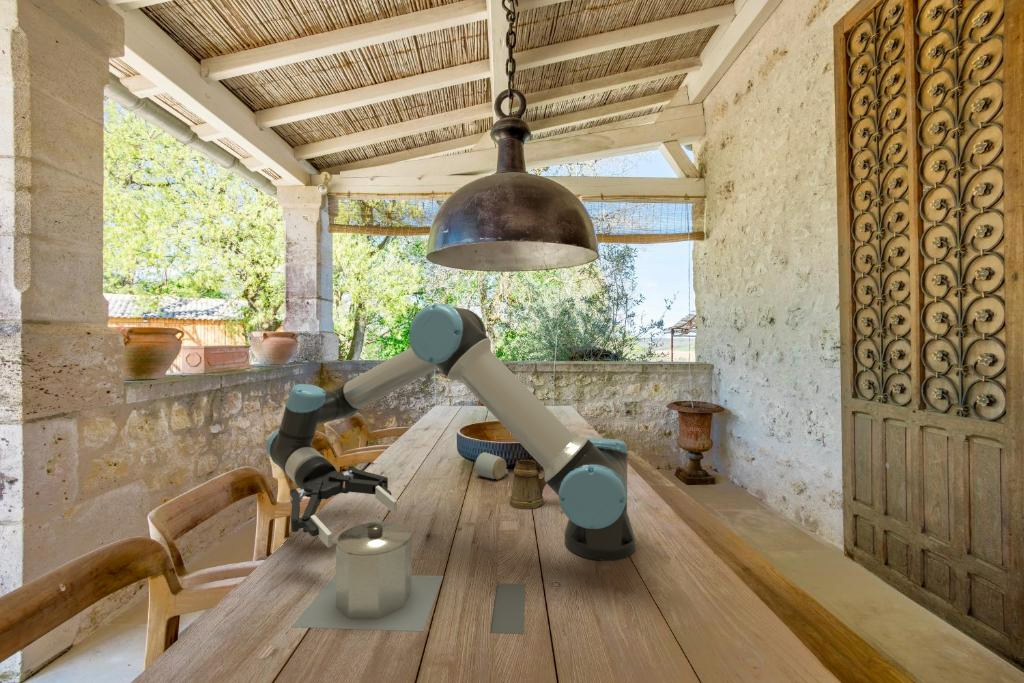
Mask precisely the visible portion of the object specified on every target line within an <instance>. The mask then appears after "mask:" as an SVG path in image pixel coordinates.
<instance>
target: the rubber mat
mask: <svg viewBox="0 0 1024 683" xmlns="http://www.w3.org/2000/svg"><path fill="white" fill-rule="evenodd" d="M495 588H496V589H495V595H494V601H493V609H492V610H493V611H492V617H491V623H490V624H491V625H490V631H489V633H490V634H508V635H509V634H511V635H524V634H525V633H524V632H525V605H526V604H525V602H526V598H525V597H526V596H525V595H526V583H508V582H507V583H504V582H501V583H498V582H497V583H496V587H495Z"/></svg>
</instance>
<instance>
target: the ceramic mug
mask: <svg viewBox="0 0 1024 683" xmlns="http://www.w3.org/2000/svg"><path fill="white" fill-rule="evenodd" d="M507 467H508V466H507V462H506V460H505V459H504V458H503V457H501V456H498V455H494V454H493V453H488V452H485V451H484V452H482V453H480V454H479V455H478V456H477V458H476V460H475V463H474V470H475V473H476V475H478V476H479V477H483V478H487V479H491V480H494V479H496V481H498V480H500V479H502V478H503V477H504V476H505V475H507V474H508V473H509V472H508V471H509V469H507Z"/></svg>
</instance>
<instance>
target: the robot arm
mask: <svg viewBox="0 0 1024 683" xmlns="http://www.w3.org/2000/svg"><path fill="white" fill-rule="evenodd" d="M408 331H409V333H408V334H409V335H408V336H409V337H408V340H409V346H410V347H409V348H407V349H405V350H404V351H401V352H399V353H397V354H396V355H395V356H392V357H391V358H389V359H386V360H385V361H383V362H382V363H381V362H380V363H379V364H378V365H376V366H374V367H372V368H371V369H368V370H367V371H365V372H363V373H361V374H360V375H358V376H356V377H354V378H353V379H351V380H349V381H347V382H345V383H344V384H342V385H340V386H337V387H336V388H334V389H331V390H325V389H323V388H322V387H319V386H318V385H314V384H309V383H307V384H306V383H305V384H304V383H297V384H295V385H293V386H292V388H291V389H290V392H289V395H288V398H287V400H286V401H285V407H284V412H283V415H282V416H283V417H282V419H281V423H280V428H279V429H277V430H276V431H274V432H273V433H272V435H271V436H270V437H269V438H268V439H267V441H266V446H265V447H266V452H267V454H268V456H269V457H270V459H271V460H272V462H273V463H274V464H275V465H277V466H278V467H279V468H280V470H283V472H284V473H285V474H286V475H287V476H288V477H289V479H291V480H292V481H293V482H294V483H295V485H296V487H298V488H299V489H300V490H297V489H296V488H292V489H290V490H289V498H290V499H289V500H290V501H289V502H290V503H291V510H290V511H291V512H290V528H291V529H290V530H291V532H292V533H296V532H297V531H299V529H302V532H303V533H305V534H306V533H308V534H309V536H310V537H313V538H315V537H318V538H319V539H320V541H321V542H322V543H323V544H324V545H325V546H326V547H327V548H331V547H332V546H333V534H332V532H331V531H330V530H329V529H328V528H327V526H325V524H324V523H323V521H321V520H320V519H319V518H318V516H316V512H317V509H318V507H320V504H321V503H322V500H328V499H330V498H332V497H333V496H337V495H339V494H349V493H357V494H365V495H366V494H367V495H375V499H376V500H377V501H378V502H380V503H381V504H382V505H383V507H386V509H388V510H389V511H390V512H391V513H392V514H393V515H394V514H396V513H397V512H398V500H397V499H396V498H394V496H392V492H391V491H390V489H389V486H388V485H389V483H388V482H389V478H388V477H387V476H384V475H380V474H377V473H372V472H368V471H366V470H361V469H359V468H356V467H355V466H353V465H349V466H348V467H347V470H346V471H344V472H341V471H338V470H337V469H336V467H335V466H334V465H333V464H332V463H331V462H330V461H329V460H328V459H326V458H325V456H324V455H322V454H321V453H320V452H319V451H318V450H317V449H315V448H314V446H313V444H312V443H313V441H314V438H315V435H316V431H317V428H318V425H323V424H326V423H330V422H333V421H337V420H341V419H342V420H343V419H347V418H350V417H352V416H354V415H357V414H358V412H360V410H361V409H362V408H365V407H366V406H369V405H371V404H373V403H374V402H376V401H378V400H380V399H381V398H384V397H385V396H387V395H389V394H392V393H394V392H395V391H397V390H399V389H401V388H404V387H406V386H407V385H409V384H410V383H413V382H415V381H416V380H419V379H420V378H422V377H424V376H426V375H428V374H430V373H432V372H433V371H435V370H438V369H439V370H440V372H442V373H443V374H444V375H445V377H446V378H447V379H448V380H450V381H451V380H452V381H460V382H461V383H462V384H463V385H464V386H465V387H466V388H467V389H468V390H469V391H470V392H471V393H472V394H473V395H474V396H475V398H476V399H478V401H479V402H480V403H481V404H482V405H483V406H484V407H485V408H486V409H487V410H488V411H489V412H490V413H491V415H492V416H493V417H494V418H496V419H497V421H498V422H499V423H500V424H501V425H502V426H503V427H504V428H505V429H506V430H507V431H508V433H509V434H511V436H513V438H514V439H515V440H516V441H517V442H518V443H519V444H520V445H521V446H522V447H523V448H524V449H525V450H526V451H527V452H528V454H529V455H530V456H531V457H533V459H534V461H535V462H536V461H537V462H538V463H539V464H540V465H541V466H542V467H543V468H544V471H543V472H544V475H543V477H544V480H545V482H546V483H547V484H546V485H548V487H550V489H552V491H553V492H554V493H555V494H556V495H557V496H558V502H559V505H560V508H561V510H562V512H563V514H564V515H565V517H567V518H568V521H567V523H566V526H565V529H564V530H565V531H564V545H565V547H566V548H567V549H568V550H569V551H571V552H572V553H574V554H576V555H578V556H580V557H583V558H586V559H590V560H596V561H597V560H598V561H616V560H617V561H618V560H622V559H625V558H627V557H630V556H632V555H633V554H634V552H635V551H636V537H635V536H636V535H635V533H634V529H633V526H632V523H631V520H630V517H629V513H628V457H629V452H628V444H627V443H626V442H625V441H624V440H620V439H619V440H618V439H615V438H614V439H613V438H600V437H578V436H575V435H574V434H573V433H572V432H571V431H570V430H569V429H568V428H567V427H566V426H565V425H564V424H563V422H561V421H560V420H559V419H558V418H557V416H555V415H554V414H553V413H552V411H551V410H550V409H548V407H546V405H545V404H543V402H542V401H540V399H539V398H538V397H537V396H536V395H535V394H534V393H533V392H532V391H531V390H530V389H529V388H528V387H527V386H526V385H524V383H523V381H521V380H520V379H519V378H518V377H517V376H516V375H515V374H514V373H513V372H512V371H511V370H510V369H509V367H507V366H506V364H505V363H503V361H501V360H500V359H499V358H498V357H497V355H495V353H494V352H493V351H492V349H491V348H492V347H491V346H492V342H491V339H490V338H489V337H488V336H487V330H486V326H485V323H484V322H483V320H482V318H481V317H480V316H479V315H478V314H477V313H475V312H474V311H473V310H470V309H466V308H462V307H457V306H456V307H455V306H451V305H449V304H445V303H437V304H431V305H428V306H426V307H423V308H422V309H421V310H419V311H418V312H417V313H416V315H414V317H413V319H412V321H411V322H410V325H409V330H408ZM304 497H306V498H309V501H308V503H307V505H306V507H305V509H304V512H303V513H302V516H301V517H300V510H301V506H300V505H301V503H302V500H303V498H304Z"/></svg>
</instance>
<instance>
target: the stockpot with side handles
mask: <svg viewBox="0 0 1024 683" xmlns="http://www.w3.org/2000/svg"><path fill="white" fill-rule="evenodd" d="M412 535H413V534H412V531H411V528H410V527H409V526H407V525H406V524H403V523H402V522H395V521H385V520H384V521H381V520H380V521H371V522H370V521H369V522H366V523H365V522H364V523H361V524H357V525H355V526H352V527H350V528H347V529H346V530H344V531H343V532H341V533H340V534H339V535H338V537H337V543H336V544H335V574H336V607H337V608H338V609H339V610H340V611H341V612H342V613H343V614H344V615H345V616H346V617H347V618H348V619H380V618H382V617H384V616H386V615H389V614H391V613H393V612H395V611H397V610H400V609H402V608H404V607H405V605H406V603H407V600H408V598H409V596H410V593H411V575H412V568H413V567H412V563H413V562H412V560H413V559H412V552H413V550H412V546H413V545H412V544H413V542H412V541H413V536H412Z"/></svg>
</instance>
